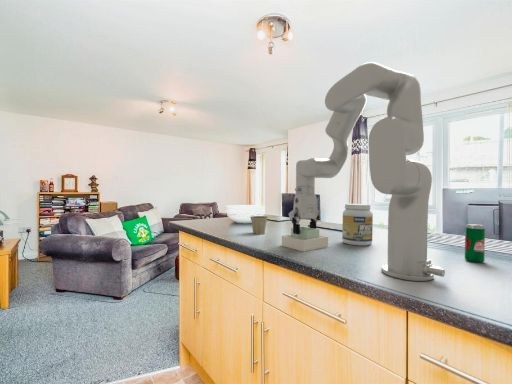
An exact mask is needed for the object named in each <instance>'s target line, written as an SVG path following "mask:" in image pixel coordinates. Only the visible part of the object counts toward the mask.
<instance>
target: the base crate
mask: <svg viewBox="0 0 512 384" xmlns="http://www.w3.org/2000/svg"><path fill="white" fill-rule="evenodd" d="M281 246H282V247H284V248H289V249H293V250H297V251H300V252H309V251H312V250H313V251H314V250H318V249H323V248H328V247H329V236H327V235H322V234H319V238H314V239H307V240H301V239H296V238H292V237H291V234H286V235H281Z"/></svg>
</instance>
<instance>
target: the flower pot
mask: <svg viewBox="0 0 512 384" xmlns="http://www.w3.org/2000/svg"><path fill="white" fill-rule="evenodd" d="M249 218H250V221H251V227H252V234H254V235H255V234H256V235H263V234H266V229H267V222H268V218H269V217H268V216H265V215H264V216H263V215H254V216H253V215H252V216H249Z"/></svg>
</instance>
